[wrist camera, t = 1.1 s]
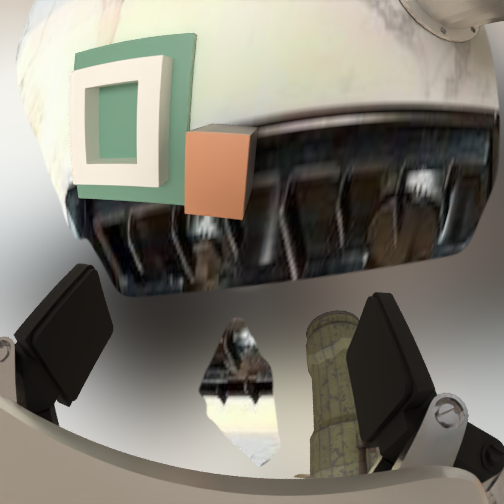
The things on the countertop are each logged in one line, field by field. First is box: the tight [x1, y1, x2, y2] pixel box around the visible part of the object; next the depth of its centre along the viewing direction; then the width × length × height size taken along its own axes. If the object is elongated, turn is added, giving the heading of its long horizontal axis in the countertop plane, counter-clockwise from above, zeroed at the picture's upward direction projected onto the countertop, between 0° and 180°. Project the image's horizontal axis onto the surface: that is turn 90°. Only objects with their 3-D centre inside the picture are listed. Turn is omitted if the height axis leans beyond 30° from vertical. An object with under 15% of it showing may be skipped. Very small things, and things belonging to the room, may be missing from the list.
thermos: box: [306, 311, 380, 479], centre depth 26 cm, size 9×12×35 cm
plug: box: [185, 124, 258, 220], centre depth 26 cm, size 7×5×9 cm
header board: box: [69, 33, 197, 205], centre depth 26 cm, size 20×16×4 cm
